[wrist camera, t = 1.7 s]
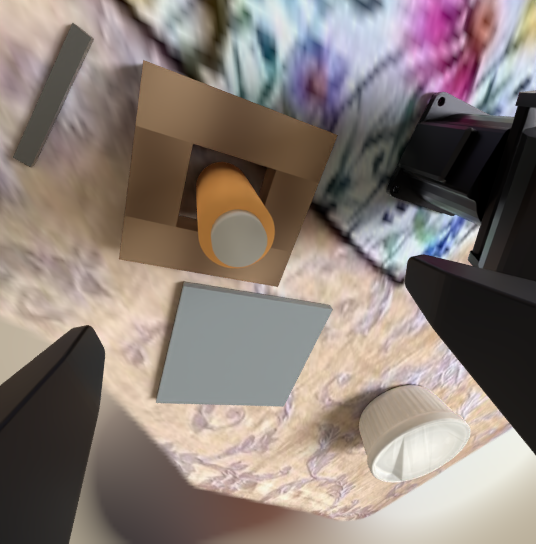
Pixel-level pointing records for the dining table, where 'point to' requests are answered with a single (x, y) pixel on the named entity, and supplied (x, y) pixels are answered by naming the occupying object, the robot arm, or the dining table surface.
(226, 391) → the rubber mat
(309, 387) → the dining table surface
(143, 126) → the brown square frame
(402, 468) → the ramekin
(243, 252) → the orange cylinder
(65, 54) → the strip
